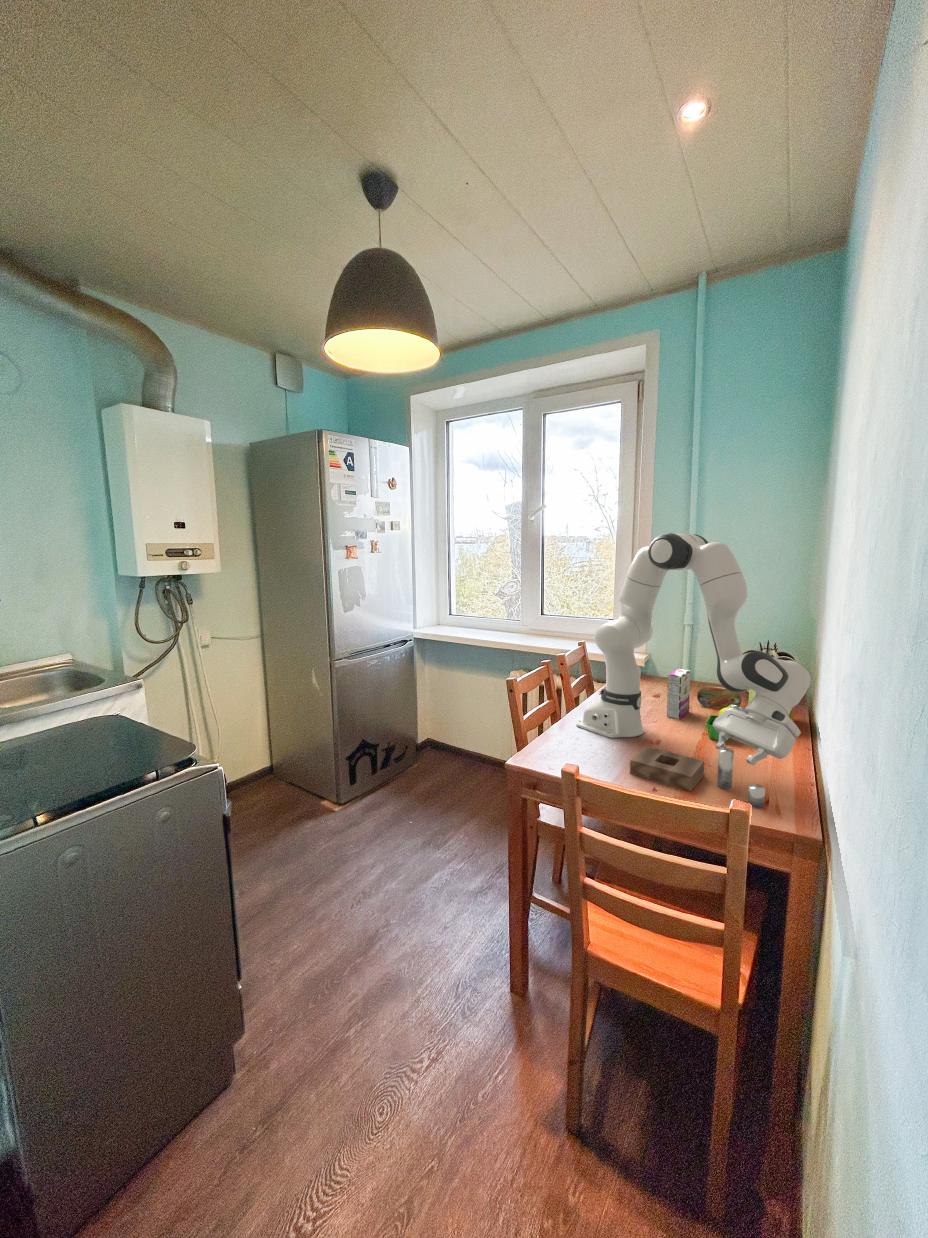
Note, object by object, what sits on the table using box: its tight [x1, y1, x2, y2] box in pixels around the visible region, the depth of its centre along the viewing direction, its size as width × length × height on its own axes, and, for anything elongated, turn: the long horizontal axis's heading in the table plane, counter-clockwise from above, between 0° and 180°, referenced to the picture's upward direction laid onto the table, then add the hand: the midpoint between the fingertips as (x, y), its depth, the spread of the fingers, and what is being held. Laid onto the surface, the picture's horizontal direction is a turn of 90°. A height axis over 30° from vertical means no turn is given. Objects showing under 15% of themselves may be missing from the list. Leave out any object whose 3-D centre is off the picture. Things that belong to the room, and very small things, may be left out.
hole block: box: [629, 745, 705, 792], centre depth 132 cm, size 16×12×4 cm
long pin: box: [716, 747, 735, 791], centre depth 124 cm, size 3×3×10 cm
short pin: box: [747, 783, 766, 810], centre depth 116 cm, size 3×3×4 cm
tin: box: [696, 685, 742, 710], centre depth 186 cm, size 15×3×8 cm, turn 56°
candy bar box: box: [666, 668, 691, 720], centre depth 179 cm, size 11×5×16 cm, turn 138°
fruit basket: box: [705, 704, 734, 742], centre depth 158 cm, size 11×9×11 cm
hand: (733, 755), depth 125 cm, fingers open, 8 cm apart
